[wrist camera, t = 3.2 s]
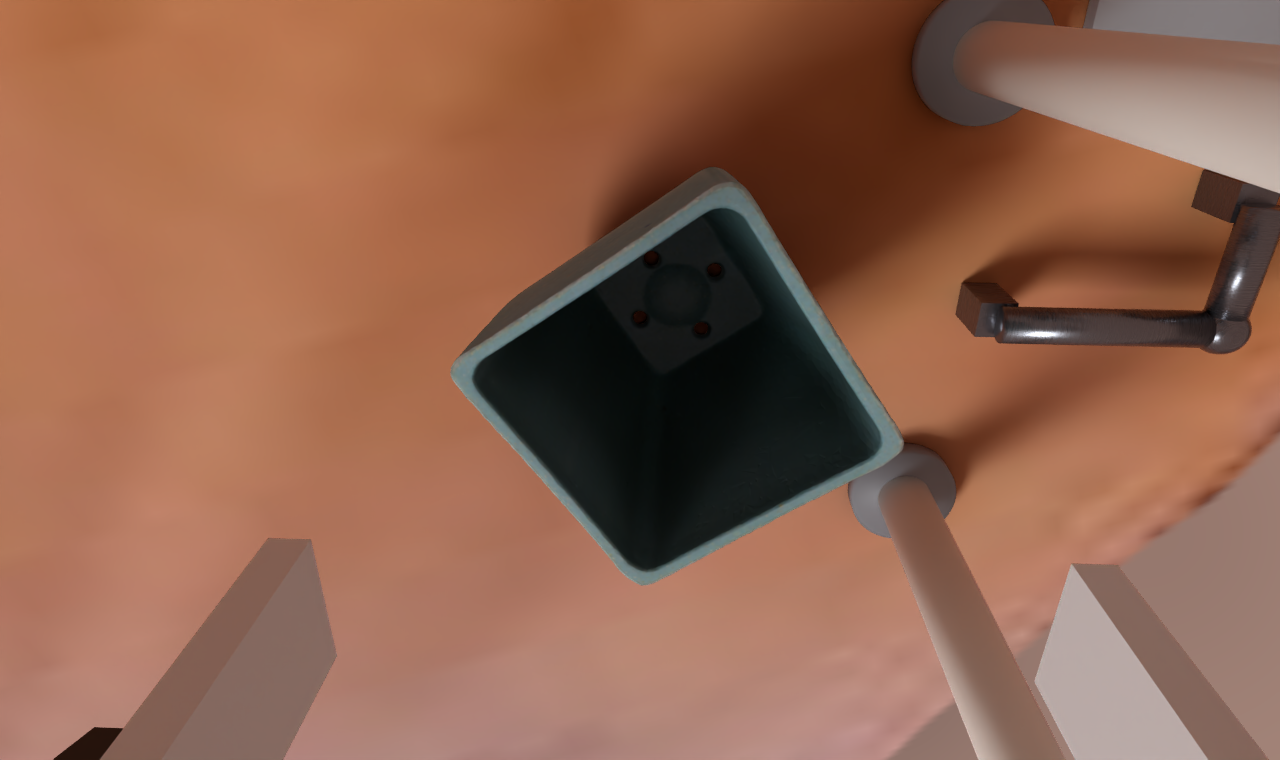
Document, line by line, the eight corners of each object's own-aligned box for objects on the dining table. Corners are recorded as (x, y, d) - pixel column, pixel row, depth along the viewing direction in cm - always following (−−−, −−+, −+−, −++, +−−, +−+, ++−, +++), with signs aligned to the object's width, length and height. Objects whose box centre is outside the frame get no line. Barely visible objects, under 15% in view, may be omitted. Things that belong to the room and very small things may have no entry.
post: (842, 525, 32) (1192, 1657, 10) (854, 441, 30) (1310, 1599, 8) (940, 527, 32) (1506, 1684, 10) (958, 444, 30) (1693, 1628, 8)
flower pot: (847, 323, 28) (915, 454, 20) (648, 438, 31) (637, 595, 23) (718, 115, 25) (736, 172, 17) (508, 261, 28) (440, 370, 20)
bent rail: (954, 319, 28) (985, 357, 25) (984, 167, 26) (1023, 189, 23) (1194, 324, 28) (1253, 363, 25) (1247, 170, 25) (1320, 193, 22)
